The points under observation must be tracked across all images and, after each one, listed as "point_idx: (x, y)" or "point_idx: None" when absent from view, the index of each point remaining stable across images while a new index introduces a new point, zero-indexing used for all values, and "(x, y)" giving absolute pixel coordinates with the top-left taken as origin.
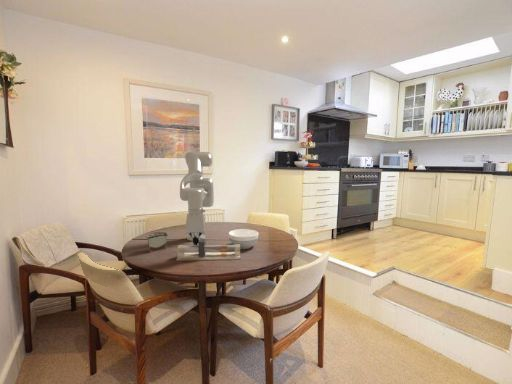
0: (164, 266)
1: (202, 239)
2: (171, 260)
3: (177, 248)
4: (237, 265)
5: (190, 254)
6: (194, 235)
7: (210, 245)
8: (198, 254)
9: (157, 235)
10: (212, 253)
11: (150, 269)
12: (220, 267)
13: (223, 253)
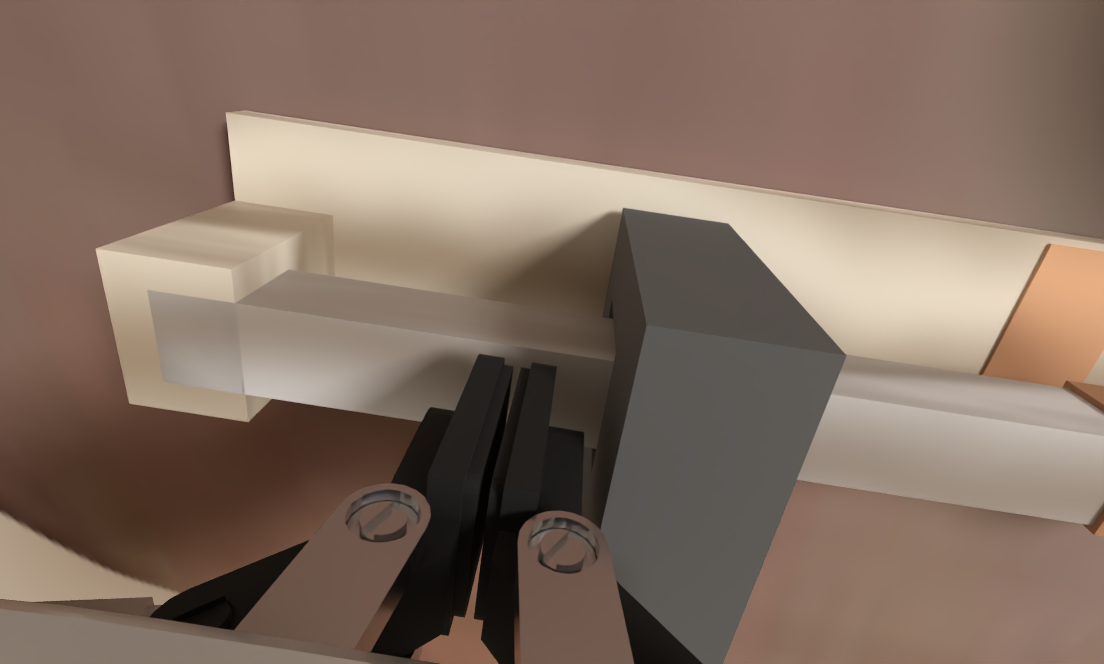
0: (183, 509)
1: (711, 456)
2: None
3: (142, 393)
4: (1029, 660)
5: (441, 246)
6: (409, 593)
7: (875, 411)
8: (584, 275)
9: None
10: (849, 275)
11: (68, 545)
12: (815, 659)
13: (1051, 327)
